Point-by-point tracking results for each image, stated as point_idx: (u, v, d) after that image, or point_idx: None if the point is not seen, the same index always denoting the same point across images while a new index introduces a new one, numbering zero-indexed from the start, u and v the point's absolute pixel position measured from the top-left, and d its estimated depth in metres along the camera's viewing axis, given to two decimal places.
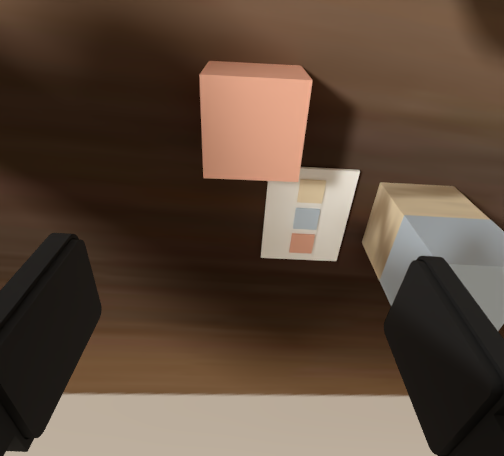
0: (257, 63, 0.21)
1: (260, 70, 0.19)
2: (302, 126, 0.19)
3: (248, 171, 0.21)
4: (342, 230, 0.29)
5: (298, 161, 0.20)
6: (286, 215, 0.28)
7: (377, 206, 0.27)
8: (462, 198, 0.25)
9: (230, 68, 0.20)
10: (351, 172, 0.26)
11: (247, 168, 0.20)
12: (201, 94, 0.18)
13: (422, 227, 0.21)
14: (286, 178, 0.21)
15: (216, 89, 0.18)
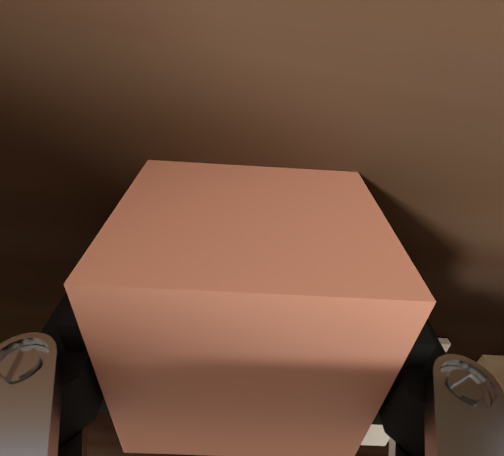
0: (258, 169, 0.09)
1: (266, 219, 0.07)
2: (381, 387, 0.07)
3: (232, 446, 0.08)
4: None
5: (358, 435, 0.08)
6: None
7: None
8: None
9: (185, 210, 0.07)
10: None
11: (229, 442, 0.08)
12: (82, 325, 0.06)
13: None
14: None
15: (126, 315, 0.06)
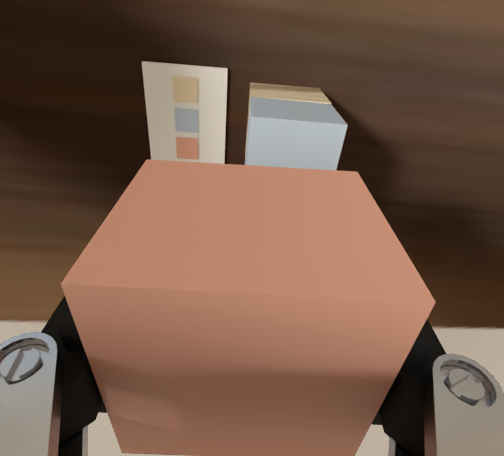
0: (257, 169, 0.09)
1: (264, 219, 0.07)
2: (381, 387, 0.07)
3: (231, 446, 0.08)
4: (223, 134, 0.30)
5: (357, 436, 0.08)
6: (167, 117, 0.30)
7: None
8: (319, 93, 0.27)
9: (184, 210, 0.07)
10: (219, 69, 0.27)
11: (228, 442, 0.08)
12: (79, 326, 0.06)
13: (259, 102, 0.23)
14: None
15: (124, 315, 0.06)
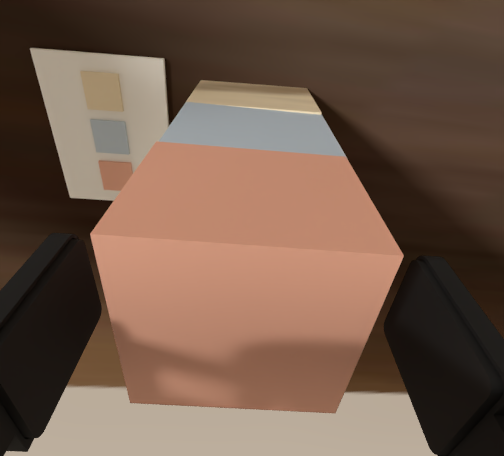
0: (256, 151, 0.10)
1: (262, 191, 0.08)
2: (360, 337, 0.08)
3: (228, 397, 0.09)
4: None
5: (340, 387, 0.09)
6: (82, 132, 0.20)
7: None
8: (304, 96, 0.17)
9: (191, 182, 0.08)
10: (151, 60, 0.18)
11: (226, 393, 0.09)
12: (103, 274, 0.07)
13: (195, 112, 0.13)
14: (310, 408, 0.10)
15: (142, 264, 0.07)
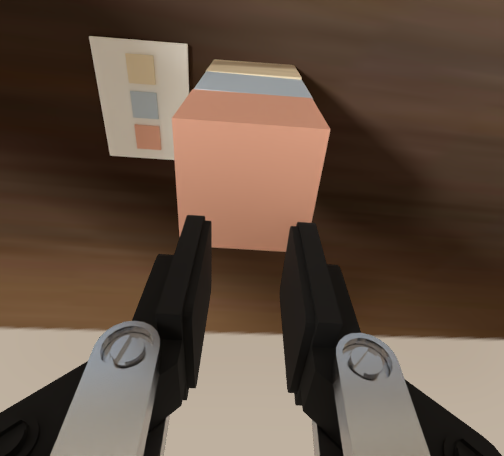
0: (255, 94, 0.16)
1: (258, 108, 0.14)
2: (313, 187, 0.14)
3: (239, 239, 0.16)
4: None
5: None
6: (123, 101, 0.26)
7: None
8: (291, 69, 0.23)
9: (218, 104, 0.14)
10: (178, 45, 0.24)
11: (238, 235, 0.15)
12: (175, 143, 0.13)
13: (214, 76, 0.20)
14: None
15: (196, 137, 0.13)
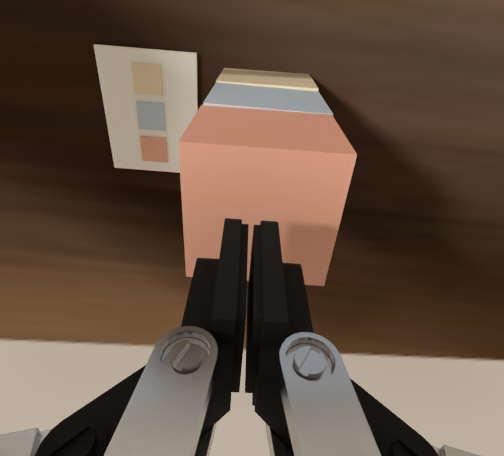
0: (270, 111, 0.15)
1: (274, 128, 0.13)
2: (335, 217, 0.12)
3: None
4: None
5: (326, 261, 0.14)
6: (128, 112, 0.25)
7: None
8: (306, 78, 0.22)
9: (229, 123, 0.13)
10: (187, 54, 0.23)
11: None
12: (181, 169, 0.12)
13: (224, 88, 0.18)
14: (307, 281, 0.14)
15: (204, 162, 0.11)
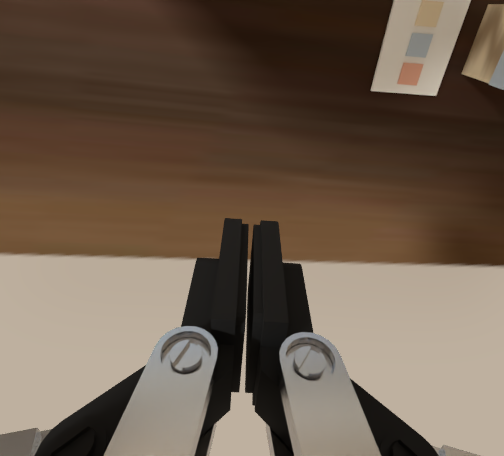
0: None
1: None
2: None
3: None
4: (447, 59, 0.33)
5: None
6: (402, 42, 0.32)
7: (484, 26, 0.31)
8: None
9: None
10: None
11: None
12: None
13: None
14: None
15: None
